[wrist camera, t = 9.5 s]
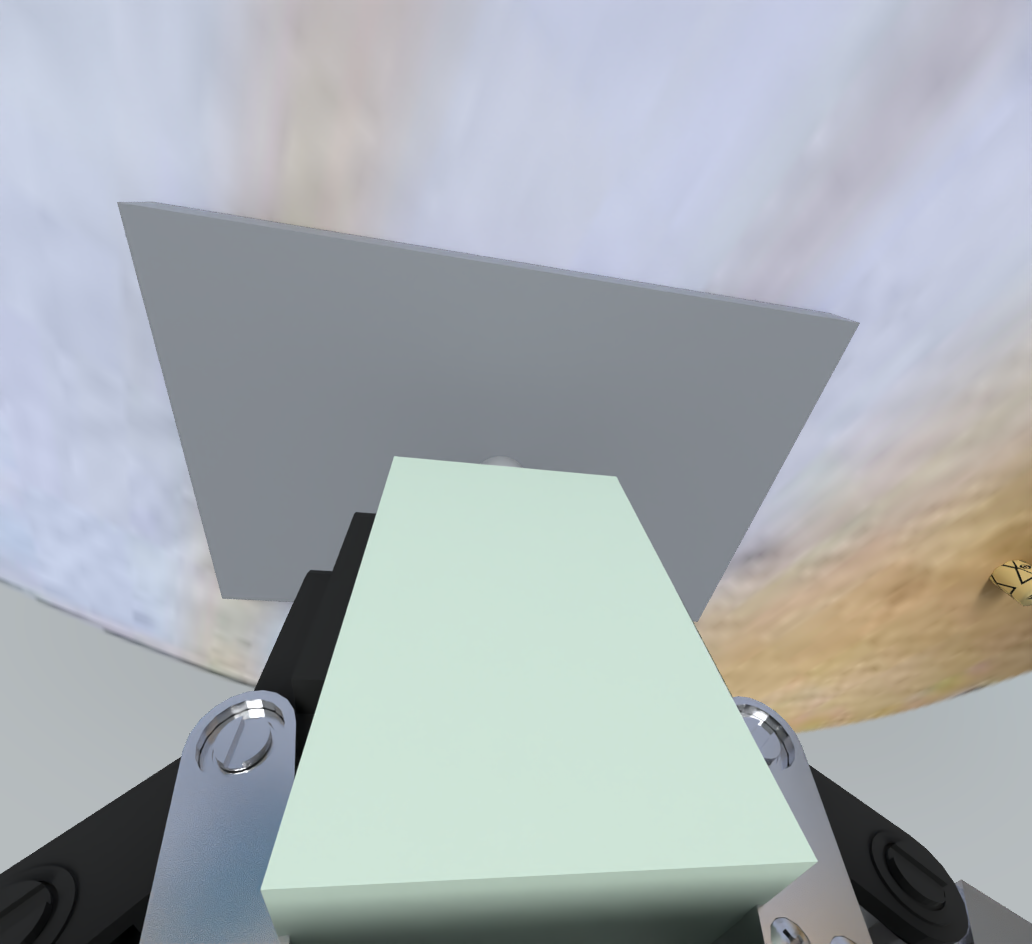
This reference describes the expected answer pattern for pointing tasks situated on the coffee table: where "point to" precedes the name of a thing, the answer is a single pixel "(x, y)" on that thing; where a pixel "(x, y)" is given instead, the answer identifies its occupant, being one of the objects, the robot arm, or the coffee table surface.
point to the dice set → (1015, 580)
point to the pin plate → (457, 386)
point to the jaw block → (523, 736)
